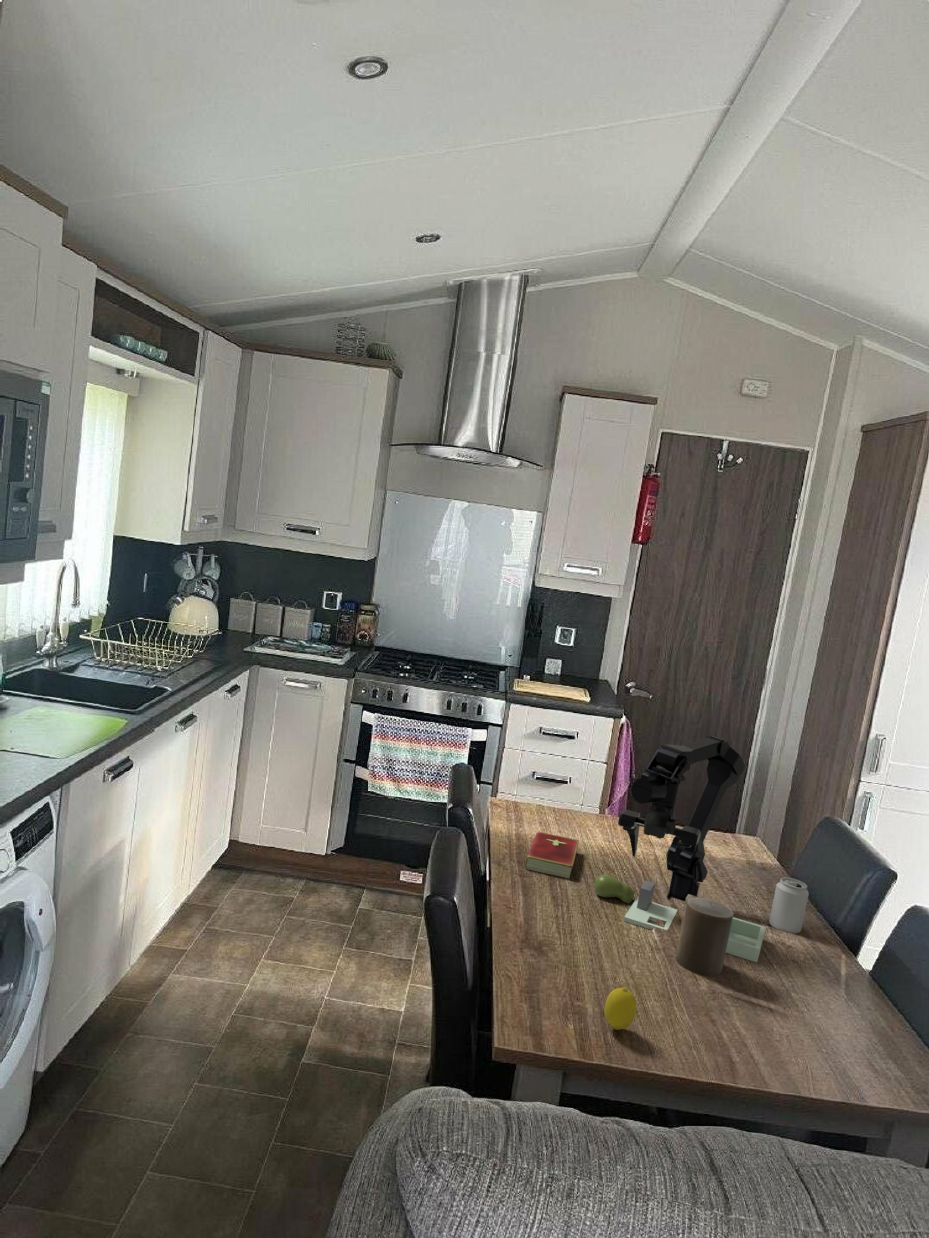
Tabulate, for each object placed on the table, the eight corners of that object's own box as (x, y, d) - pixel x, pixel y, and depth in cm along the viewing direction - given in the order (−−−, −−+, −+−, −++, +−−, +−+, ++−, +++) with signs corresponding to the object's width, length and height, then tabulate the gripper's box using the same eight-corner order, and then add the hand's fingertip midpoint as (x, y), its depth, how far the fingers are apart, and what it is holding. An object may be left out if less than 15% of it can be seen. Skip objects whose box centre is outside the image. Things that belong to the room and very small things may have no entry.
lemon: (598, 1019, 170) (605, 978, 169) (627, 1022, 170) (635, 981, 169) (605, 1036, 164) (613, 994, 163) (635, 1040, 165) (643, 997, 164)
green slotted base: (623, 920, 215) (628, 896, 215) (636, 901, 228) (640, 878, 228) (666, 934, 212) (671, 909, 211) (677, 913, 225) (681, 890, 224)
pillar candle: (695, 982, 191) (710, 912, 189) (665, 958, 199) (678, 892, 197) (730, 978, 195) (745, 910, 194) (699, 955, 204) (713, 890, 202)
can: (802, 939, 221) (812, 891, 220) (770, 931, 223) (779, 883, 221) (797, 926, 229) (807, 880, 227) (766, 919, 230) (776, 873, 229)
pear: (597, 868, 231) (635, 882, 231) (590, 888, 231) (628, 901, 231) (599, 876, 225) (638, 890, 225) (592, 896, 226) (631, 910, 226)
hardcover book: (523, 870, 238) (526, 854, 238) (534, 844, 259) (536, 830, 258) (570, 881, 236) (573, 865, 235) (576, 853, 256) (579, 839, 256)
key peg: (678, 935, 212) (685, 898, 211) (681, 931, 215) (688, 894, 214) (691, 939, 211) (699, 902, 210) (694, 935, 214) (701, 897, 213)
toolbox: (709, 951, 206) (713, 934, 206) (718, 929, 219) (721, 913, 218) (756, 966, 202) (759, 949, 202) (762, 943, 215) (765, 926, 215)
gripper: (618, 796, 217) (606, 860, 219) (698, 817, 210) (686, 883, 212) (629, 786, 227) (617, 847, 229) (706, 806, 220) (694, 869, 222)
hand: (652, 861), depth 223 cm, fingers open, 9 cm apart
